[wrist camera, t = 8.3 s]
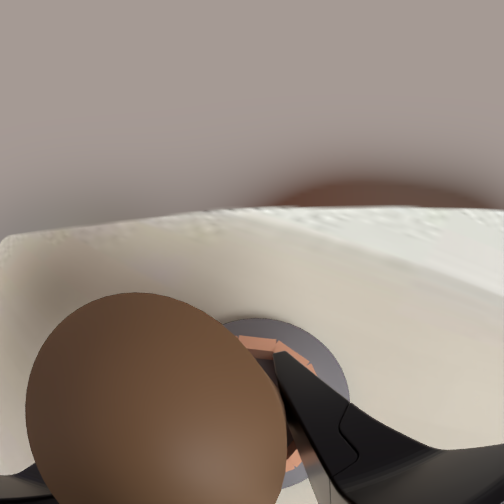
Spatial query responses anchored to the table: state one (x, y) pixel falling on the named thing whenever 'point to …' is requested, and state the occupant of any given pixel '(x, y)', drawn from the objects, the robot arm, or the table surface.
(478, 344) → the table surface
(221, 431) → the walnut rail post
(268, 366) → the ring
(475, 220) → the table surface
